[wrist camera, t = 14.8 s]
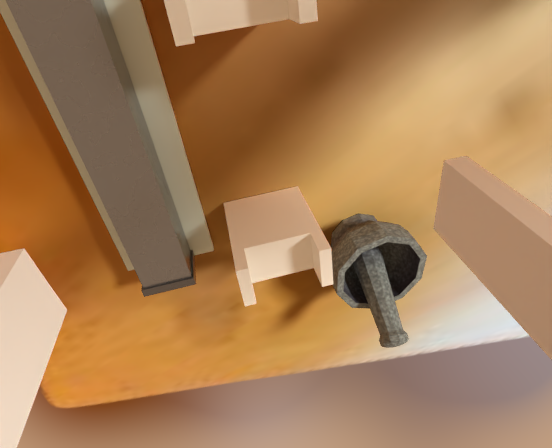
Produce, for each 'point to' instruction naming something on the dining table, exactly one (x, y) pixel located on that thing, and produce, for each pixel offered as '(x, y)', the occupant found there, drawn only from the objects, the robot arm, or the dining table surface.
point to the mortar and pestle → (376, 270)
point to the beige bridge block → (232, 15)
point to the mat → (157, 114)
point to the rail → (109, 132)
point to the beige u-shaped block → (275, 239)
